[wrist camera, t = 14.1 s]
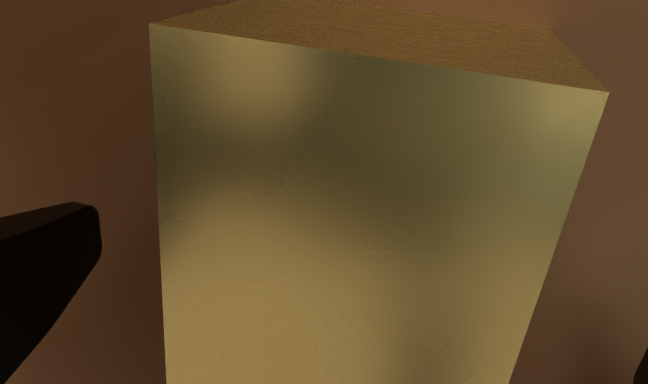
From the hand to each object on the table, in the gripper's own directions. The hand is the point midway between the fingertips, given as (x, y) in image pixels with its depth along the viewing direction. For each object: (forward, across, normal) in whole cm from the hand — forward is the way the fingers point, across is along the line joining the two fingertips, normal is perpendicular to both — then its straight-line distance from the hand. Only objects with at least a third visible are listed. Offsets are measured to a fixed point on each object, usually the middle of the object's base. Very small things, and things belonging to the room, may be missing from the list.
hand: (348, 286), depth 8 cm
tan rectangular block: (+2, 0, -1) cm, 2 cm away
